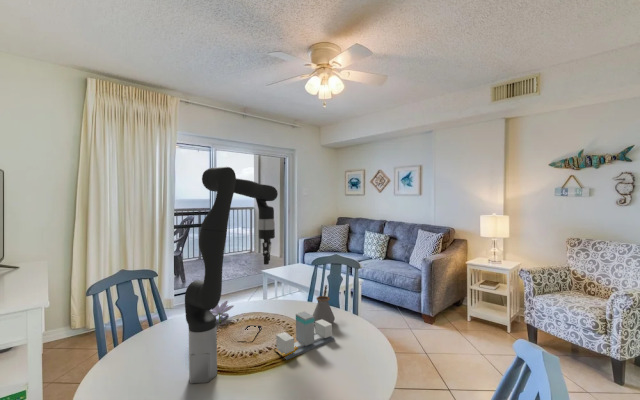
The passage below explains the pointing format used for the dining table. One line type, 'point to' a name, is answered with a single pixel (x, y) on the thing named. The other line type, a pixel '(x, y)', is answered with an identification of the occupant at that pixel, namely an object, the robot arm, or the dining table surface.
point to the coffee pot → (323, 309)
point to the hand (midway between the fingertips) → (267, 262)
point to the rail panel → (287, 343)
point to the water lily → (221, 310)
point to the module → (305, 328)
